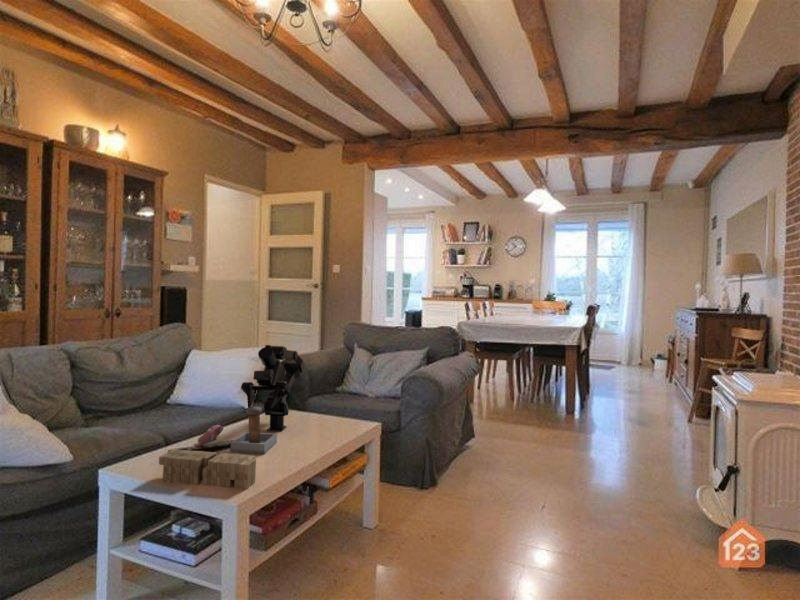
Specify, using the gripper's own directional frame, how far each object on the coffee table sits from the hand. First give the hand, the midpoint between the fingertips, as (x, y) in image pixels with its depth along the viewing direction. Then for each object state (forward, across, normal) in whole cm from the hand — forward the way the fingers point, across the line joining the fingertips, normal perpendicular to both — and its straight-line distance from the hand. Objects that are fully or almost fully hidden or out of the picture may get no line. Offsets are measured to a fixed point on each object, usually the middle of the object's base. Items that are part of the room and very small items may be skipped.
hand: (259, 407), depth 184 cm
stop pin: (+13, 0, +4) cm, 14 cm away
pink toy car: (+10, -20, +7) cm, 24 cm away
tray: (+14, 0, +5) cm, 15 cm away
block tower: (+35, +1, -18) cm, 39 cm away
